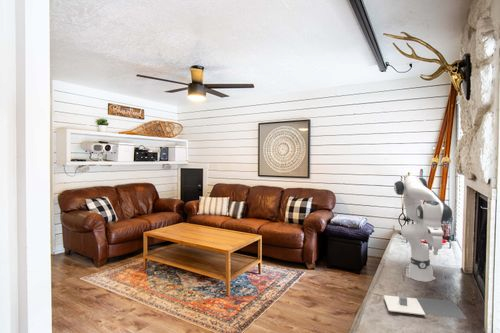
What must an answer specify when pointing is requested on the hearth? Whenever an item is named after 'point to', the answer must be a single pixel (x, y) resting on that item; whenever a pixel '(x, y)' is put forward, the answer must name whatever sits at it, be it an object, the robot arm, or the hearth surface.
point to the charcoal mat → (440, 308)
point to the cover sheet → (403, 305)
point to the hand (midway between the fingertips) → (432, 252)
